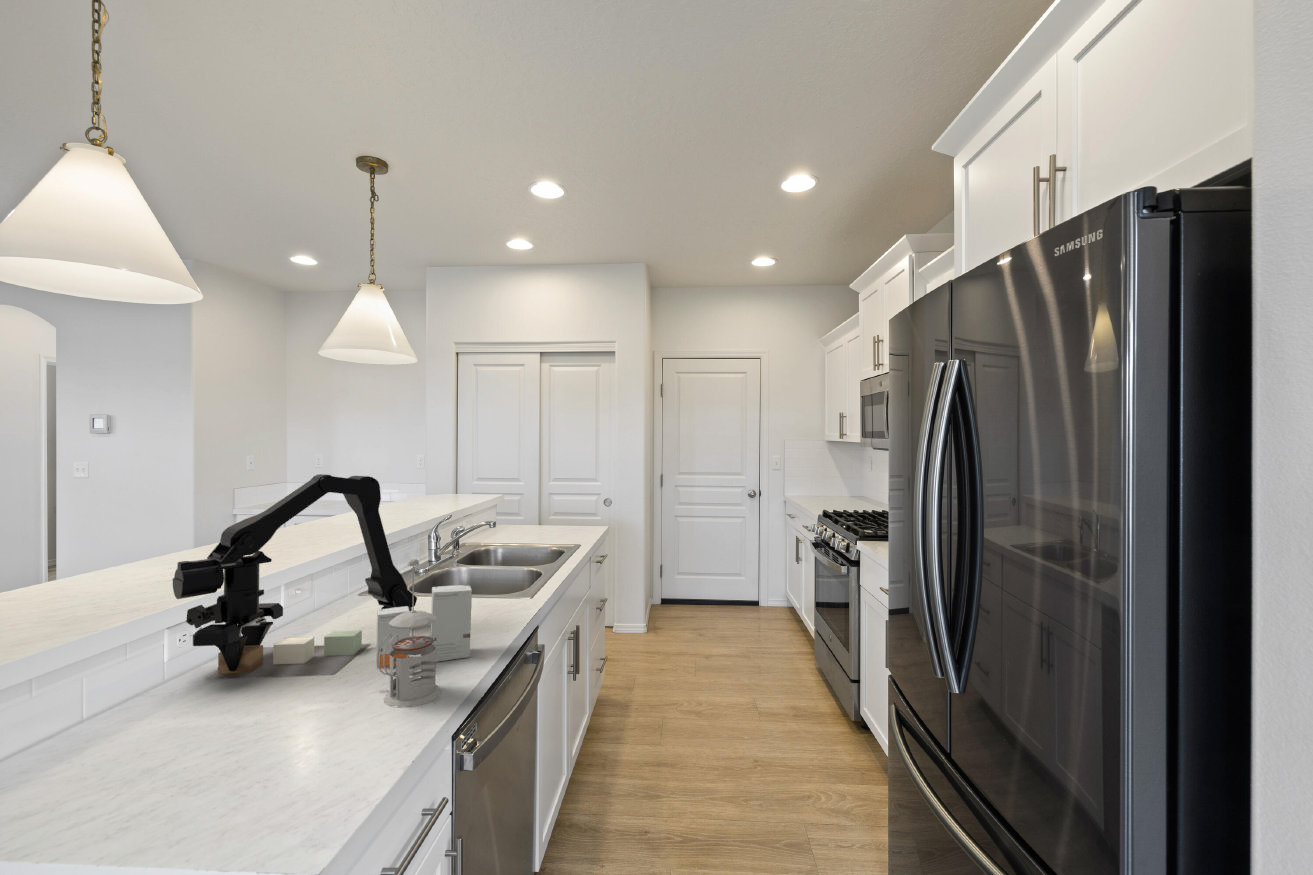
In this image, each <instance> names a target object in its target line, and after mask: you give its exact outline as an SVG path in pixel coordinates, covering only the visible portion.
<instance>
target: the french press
mask: <svg viewBox="0 0 1313 875" xmlns="http://www.w3.org/2000/svg"><path fill="white" fill-rule="evenodd" d="M407 566H408V567H412V594H413V604H412V611H409V612H405V613H402V614H400V615H398V616H396V617H395V618H394V619H393V620H391V621H390V622H389V625H390V627H392V628H394V629H409V630H410V629H411V631H412V632H411V633H412V634H411V636H409V637H404V638H401V639H399V640H398V635H395V636H394V637H393V638H392V634H389V635H391V640H392V641H393V642H394V643H393V644H392V648H393V649H394V650H392V651H391V652H390V667H389V671H388V670H387V667H385V653H386V650H387V647H388V645H389V644H390V642H391V640H390V641H389V643H388V644H387V646H386V648H385V651H384V655H383V666H384V671H385V672H384V671H382V668H380V666H379V656H378V655H379V651H380V648H381V645H382V643H383V642H384V640H385V639H386V638H387V637H388V636H389V635H387V636H386V637H385V638H384V639H383V641H382V642H381V644H380V647H379V649H378V653H377V652H376V654H377V665H378V668H377V669H378V670H379V672H381V674H382V675H386V676H389V691H388V693H387V694H386V695H385V696H384V697H383V703H384V704H385V703H386V704H385V705H387V706H388V705H389V706H388V707H392V706H397V707H396V708H410V707H409V706H411V707H416V706H420V705H421V706H422V705H423V703H424V704H427V703H429V702H431V701H433V700H435V699H436V698H438V697H439V696H440V694H441V693H442V690H440V689H441V687H440V686H438V685H437V684H436V674H437V673H436V671H437V670H436V665H437V664H436V662H435V661H436V648H435V646H434V645H432V643H433V642H434V639H433V638H432V637H431V635H430V636H429V635H414V634H415V632H414V629H420V628H424V627H427V626H429V625H431V624H432V623H433V622H434V621H435V620H436V616H435V615H433V614H431V613H430V612H427V611H424V610H414V607H415V606H414V596H415V587H414V586H415V582H414V581H415V567H417V566H420V562H419V560H418V559H417V558H412V559H410V560H408V561H407ZM395 637H397V641H394V640H393V639H394V638H395ZM399 653H400V654H405V655H409V656H415V657H409V658H403V657H396V658H394V659H393V656H394V655H395V654H399ZM418 655H419V656H418ZM395 661H396V665H394V666H393V663H394V662H395ZM440 692H441V693H440ZM437 696H438V697H437ZM403 706H404V707H403ZM405 706H406V707H405ZM407 706H408V707H407Z"/></svg>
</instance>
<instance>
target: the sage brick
mask: <svg viewBox="0 0 1313 875" xmlns="http://www.w3.org/2000/svg"><path fill="white" fill-rule="evenodd" d="M362 634H363V630H362V629H353V630H351V629H349V630H347V629H346V630H332V631H331V632H329V633H328V634H326V635H325V636H324V638H323V640H324V641H323V645H324V656H333V655H354V654H355V653H356V652H358V651H359V650H360V649H361V648H362V640H363V638H362V637H363V636H362Z"/></svg>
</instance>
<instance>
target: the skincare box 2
mask: <svg viewBox="0 0 1313 875" xmlns="http://www.w3.org/2000/svg"><path fill="white" fill-rule="evenodd" d="M472 593H473V590H472V587H471V585H470V584H459V585H458V584H457V585H441V586H432V587H431V614H433V615H435V616H436V620H435V621H434V622H433V623H432V624H430V637H432V638H433V639H434V642H433V643H432V645H434V646H435V648H436V661H435V663H437V662H444V661H450V660H458V659H459V660H460V659H468V658H469V657H470V656H471V654H470V653H471V629H472V628H471V625H472V598H473V597H472V595H473V594H472Z"/></svg>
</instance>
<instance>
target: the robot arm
mask: <svg viewBox="0 0 1313 875" xmlns="http://www.w3.org/2000/svg"><path fill="white" fill-rule="evenodd" d="M329 493H334V494H342V495H343V497H344V499H345V501H346V502H347V504H348V506H349V507H350V508H351V509H352V510H353V512H354V513H355V514H356V517H357V521H358V524H359V528H360V531H361V535H362V538H363V541H364V542H363V543H364V545H365V549H366V553H367V556H368V559H369V564H370V567H371V574H370V577H367V578H365V579H364V580H365V584H366V586H367V588H368V589H367V590H368V591H367V594H368V595H371V597H372V598H373V599H375V600H376V601H377V603H378V605H379V606H382V607H381V608H380V610H381V609H389V608H395V607H405V606H408V607H409V611H412V604H413V592H411V591H410V590H408V585H407V583H406V581H405V579H404V577H403V575H402V574H401V573H400V571H399V570H398V568H397V567H396V566H395V565H394V561H393V559H392V555H391V551H390V547H389V544H388V541H387V537H386V533H385V529H384V527H383V526H384V525H383V522H382V518H381V514H380V504H381V500H382V496H381V485H380V482H379V481H378V479H377V478H376V479H375V478H374V477H373V476H368V475H351V476H349V477H341V476H340V477H339V476H334V475H330V474H323V473H322V474H316V475H314V476H313V477H312V478H310V480H309V481H307V482H305V483H304V484H302V485H301V486H300V487H298V488H296V489H295V490H293V491H292V492H290V493H289V494H287V495H286V496H285V497H283V498H282V499H280V500H278V502H276V503H274V504H273V505H271V506H270V507H269V508H267V509H265V510H264V511H262V512H260V513H258V514H255V515H253V516H249V517H248V518H245V519H242V520H240V521H238V522H236V523H234V524H231V525H230V526H228V527H226V528H225V529H224V530H223V531H222V533H221V537H220V540H219V543H218V544H217V545H216V546H215V547H214V549H213V550H212V551H211V552H210V553H209V555H208V556H207V557H206V559H199V560H183V561H178V562H177V566H176V567H177V568H176V569H175V572H174V576H173V578H172V591H173V594H174V597H175V598H176V599H177V600H181V599H187V598H193V597H199V596H203V595H204V596H205V595H209V594H215V593H216V592H218V590H221V589H222V587H223V594H221V595H219V596H218V597H216V598H217V599H216V603H214V604H212V605H209V606H206V607H205V606H204V605H202V604H199V605H197V606H193V607H191V608H189V609H187V611H186V623H187V624H188V625H189V626H194V628H195V629H197V631H196V632H195V633H193V634H192V646H193V647H208V646H209V647H210V646H213V647H214V646H215V647H216V648H218V649H219V651H220V652H221V653H222V655H223V658H224V660H225V662H226V664H227V667H228V669H229V671H236V670H237V667H238V665H239V662H240V659H241V655H242V652H243V649H244V646H250V645H262V644H263V641H264V639H265V637H266V636H267V633H268V631H269V630H270V628H271V626H273V625H274V621H267V618H265V617H271V619H273V620H277V619H280V618H281V617H283V616H284V607H283V605H282V604H280V603H279V602H274V603H273V602H267V603H260V597H261V596H263V595H265V589H260V565H261V564H267V563H268V564H269V563H271V562H272V561H273V560H272V558H270V557H269V556H268V555H266V554H265V553H264V552H263V551H261V549H263V547H264V546H265V545H266V544H267V543H268V542H269V541H270V540H271V539H272V538H273V537H274V535H275V534H276V532H277V531H278V530H279V529H280V528H281V527H282V526H283V525H285V524H286V523H287V522H289V521H290V520H291V519H293V518H294V517H296V516H297V515H299V514H300V513H301V512H303V511H304V510H306V509H307V508H309V507H310V506H311V505H313V504H314V503H316V501H318V500H320V499H321V498H322V497H324V496H325V495H326V494H329ZM417 600H418V597H417V596H416V595H414V607H416V604H417ZM212 622H214V624H209V625H207V626H204V627H202V626H203V625H206V624H208V623H212ZM201 627H202V628H201ZM199 628H200V629H199Z"/></svg>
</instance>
